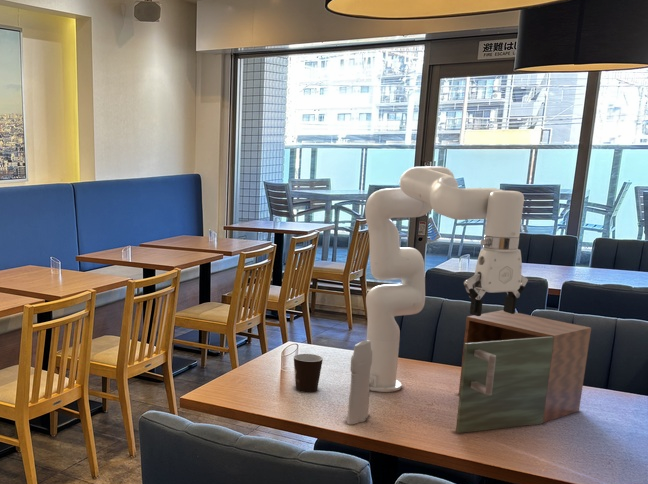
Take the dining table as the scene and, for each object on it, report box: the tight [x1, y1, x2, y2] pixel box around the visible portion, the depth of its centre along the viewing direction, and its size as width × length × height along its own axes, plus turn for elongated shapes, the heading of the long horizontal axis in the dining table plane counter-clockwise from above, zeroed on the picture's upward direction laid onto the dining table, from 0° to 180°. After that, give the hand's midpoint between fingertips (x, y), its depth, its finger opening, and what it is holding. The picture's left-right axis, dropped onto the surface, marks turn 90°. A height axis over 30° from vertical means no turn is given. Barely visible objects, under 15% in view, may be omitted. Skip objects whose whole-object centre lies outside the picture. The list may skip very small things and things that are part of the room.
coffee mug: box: [293, 353, 324, 393], centre depth 220 cm, size 12×9×10 cm
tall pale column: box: [346, 339, 373, 425], centre depth 192 cm, size 11×4×22 cm, turn 136°
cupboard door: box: [455, 336, 554, 434], centre depth 182 cm, size 7×26×24 cm, turn 105°
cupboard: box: [458, 309, 592, 423], centre depth 204 cm, size 17×26×24 cm, turn 30°
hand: (492, 313), depth 175 cm, fingers open, 9 cm apart
